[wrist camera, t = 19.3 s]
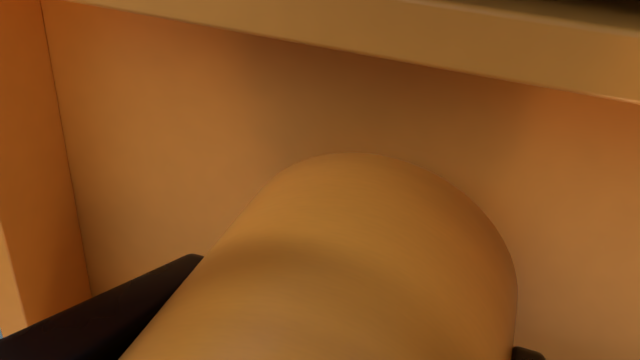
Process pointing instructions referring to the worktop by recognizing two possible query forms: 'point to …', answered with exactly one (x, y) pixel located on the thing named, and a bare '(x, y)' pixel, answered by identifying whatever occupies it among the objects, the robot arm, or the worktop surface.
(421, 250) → the orange cylinder
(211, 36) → the amber tray
